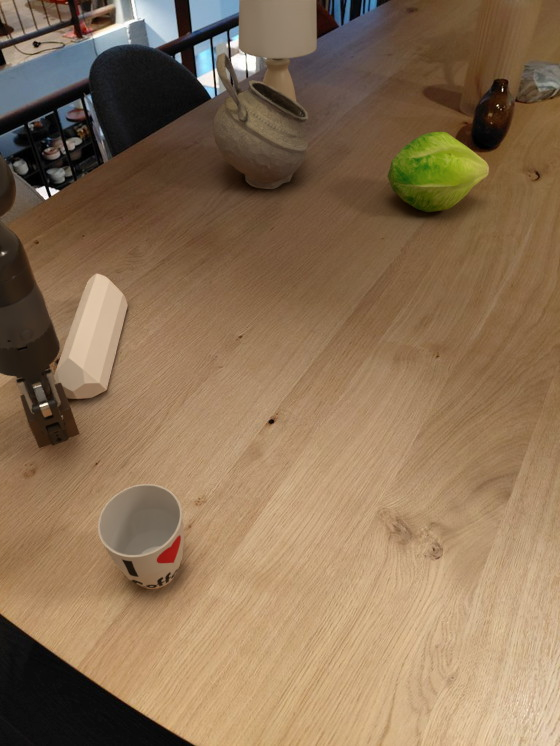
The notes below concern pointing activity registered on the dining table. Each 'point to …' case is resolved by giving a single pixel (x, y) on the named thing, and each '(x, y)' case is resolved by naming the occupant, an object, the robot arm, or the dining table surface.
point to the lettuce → (435, 172)
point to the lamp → (278, 36)
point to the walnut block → (64, 410)
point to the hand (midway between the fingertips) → (54, 425)
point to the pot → (259, 130)
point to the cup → (144, 534)
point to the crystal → (92, 340)
